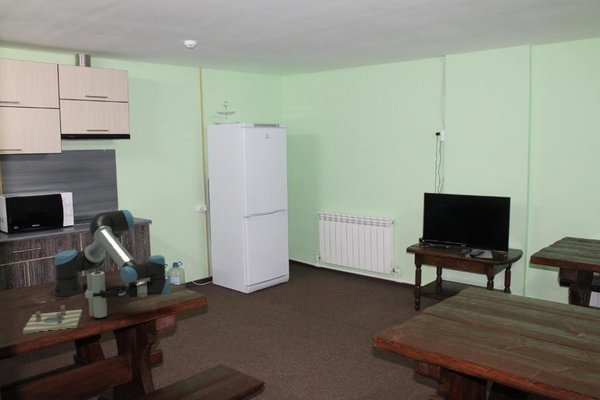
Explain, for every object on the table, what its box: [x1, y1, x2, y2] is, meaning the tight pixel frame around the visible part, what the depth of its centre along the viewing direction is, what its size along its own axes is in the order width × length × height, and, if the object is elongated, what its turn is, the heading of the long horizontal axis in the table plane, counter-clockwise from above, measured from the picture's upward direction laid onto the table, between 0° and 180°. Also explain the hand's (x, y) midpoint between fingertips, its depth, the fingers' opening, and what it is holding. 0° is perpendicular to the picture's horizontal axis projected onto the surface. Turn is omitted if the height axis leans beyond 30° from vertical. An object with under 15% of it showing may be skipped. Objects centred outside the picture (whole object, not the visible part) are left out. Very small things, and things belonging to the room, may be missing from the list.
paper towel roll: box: [86, 271, 108, 319], centre depth 243 cm, size 7×6×21 cm
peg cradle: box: [22, 304, 83, 335], centre depth 238 cm, size 22×22×6 cm
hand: (86, 294), depth 241 cm, fingers closed on paper towel roll, 3 cm apart
